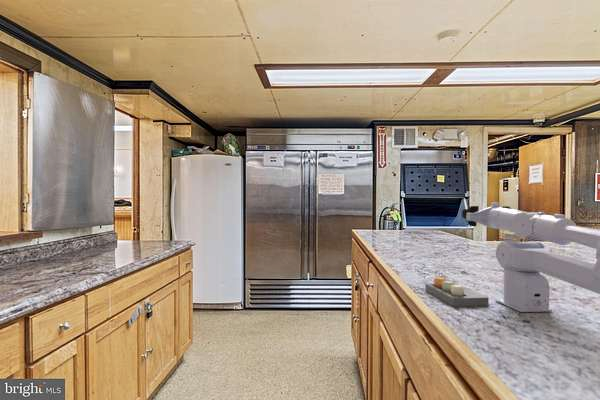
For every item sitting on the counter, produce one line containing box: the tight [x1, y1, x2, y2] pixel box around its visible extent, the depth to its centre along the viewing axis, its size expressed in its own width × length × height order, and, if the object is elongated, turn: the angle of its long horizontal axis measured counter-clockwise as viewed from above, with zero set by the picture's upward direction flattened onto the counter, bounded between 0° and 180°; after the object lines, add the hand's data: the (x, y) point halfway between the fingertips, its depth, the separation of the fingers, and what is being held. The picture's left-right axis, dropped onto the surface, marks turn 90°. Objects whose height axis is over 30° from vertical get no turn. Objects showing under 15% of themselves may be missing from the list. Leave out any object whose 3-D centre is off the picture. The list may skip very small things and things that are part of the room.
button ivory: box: [451, 284, 465, 296], centre depth 93 cm, size 3×3×2 cm
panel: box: [424, 282, 489, 308], centre depth 97 cm, size 15×9×2 cm, turn 6°
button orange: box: [433, 276, 447, 288], centre depth 102 cm, size 3×3×2 cm
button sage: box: [442, 280, 456, 292], centre depth 98 cm, size 3×3×2 cm
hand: (475, 213), depth 110 cm, fingers open, 7 cm apart
